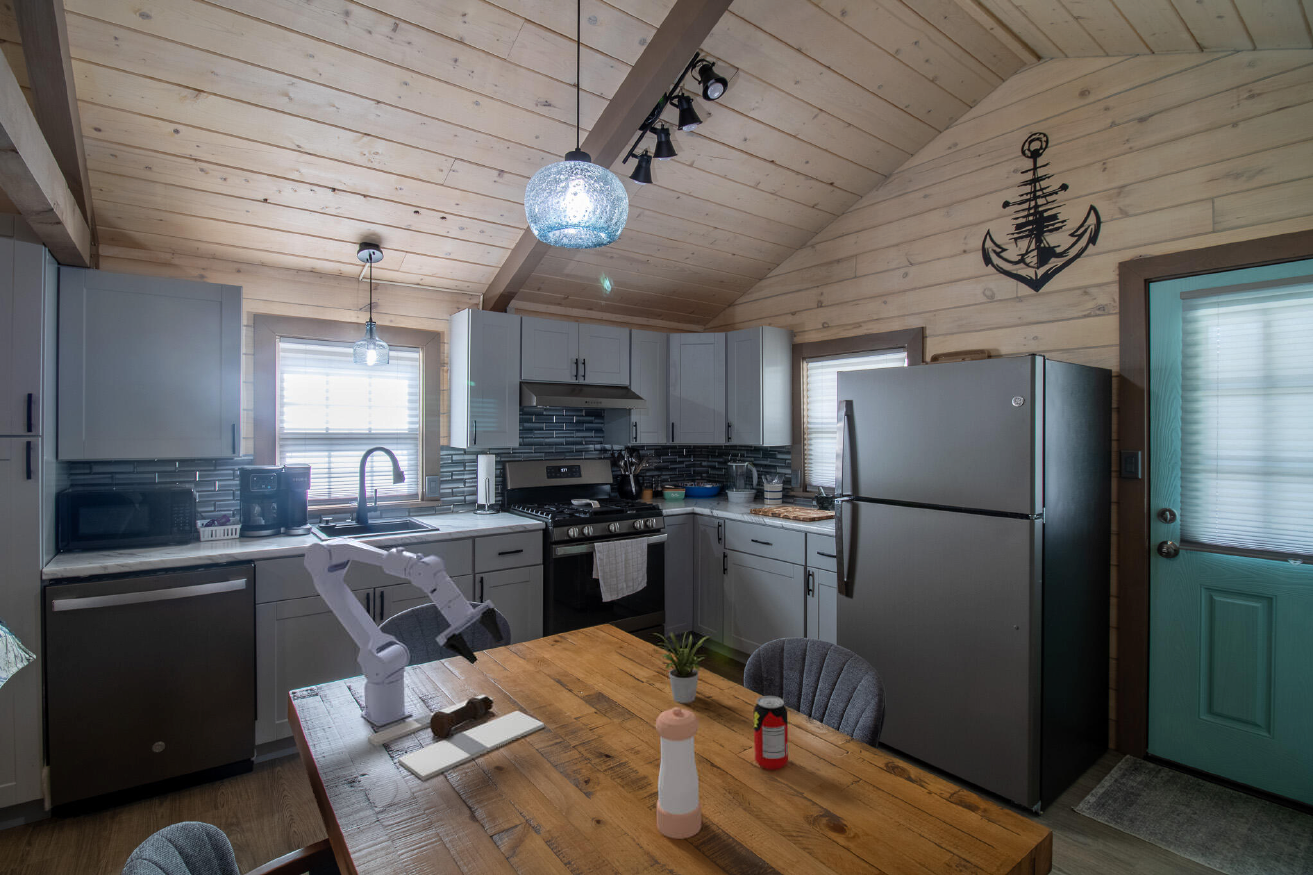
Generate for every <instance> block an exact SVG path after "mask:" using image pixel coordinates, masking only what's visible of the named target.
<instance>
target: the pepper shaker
mask: <svg viewBox="0 0 1313 875" xmlns="http://www.w3.org/2000/svg"><path fill="white" fill-rule="evenodd" d="M699 726H700V725H699V721H698V718H697V716H696V715H695V714H694V712H692V711H690V710H688V709H684V708H681V707H678V706H675V707H673V708H670V709H667V710H665V711H662V712H661V713H659V715H658V717H657V718H656V720H655V730H656V732H657V733H658V735H659V736H660V764H659V773H658V782H657V788H658V789H657V790H658V791H657V792H658V794H657V795H658V800H657V801H656V827H657V830H658V832H659V833H661V834H662V835H664V836H665V837H667V838H672V839H682V840H683V839H687V838H691V837H693V836H695V835H696V834H698V833H699V832H700V830H701V828H702V802H701V800H700V799H699V775H698V770H697V765H696V760H695V736H696V734H697V733H698V731H699Z"/></svg>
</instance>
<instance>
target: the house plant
mask: <svg viewBox="0 0 1313 875" xmlns="http://www.w3.org/2000/svg"><path fill="white" fill-rule="evenodd" d="M687 631H688V630H685V633H684V636H683V640H682V647H680V645H679V643H678V641H677V638H676V635H674V634H673V632H670V633H669V636H670V637H671V638H670V639H671V640H672V643H673V644H674V647H675V649H676V651H675V650H674V648H673V647H672V646H671V644H670V643H669V641H668V640H667V639H666V638H665V636H663V635H661V634H658V633H652V634H654V635H656V636H659V637H661V638H662V639H663V640H664V641H665V643H664V645H665V646H667V648H669V649H670V651H671V652H672V653H673V656H674V657H675V659H674V657H673V656H672V654H671V653H670V651H669V650H668V649H667V648H665V647H664V646H657V648H663V649H664V650H665V651H666V652H667V653H663V655H662V656H661V657H662V658H664V659H665V660H668V661H670V662H666V661H664V660H661V661H658V662H659V663H660V662H661V663H663V662H664V663H666V666H665V670H668V669H670V667H671V668H672V669H671V670H669V671H668V676H669V681H670V686H671V692H672V697H673V701H674V702H676V703H680V704H688V703H693V702H694V701H695V700H696V693H697V687H698V679H699V670H700V665H699V663H698V662H700V661H701V660H703V659H704V657H707V655H706V654H705V655H704V654H696V655H694V654H695V653H696V651H697V649H699V647H700V646H702V645H703V644H702V643H703V642H704V641H705V640H706V639H707V638H709V637H710V635H708V636H705V637H703V638H702V639H700V640H699V641H698V642H697V643H696V645H695V646H694V647H693V649H692V650H691V646H692V643H693V642H692V639H693V638H692V635H690V636H689V639H687V640H686V641H685V637H686V634H687ZM687 643H688V644H687ZM686 644H687V648H685V647H686ZM658 645H663V643H662V642H660V643H658ZM690 650H691V651H690Z"/></svg>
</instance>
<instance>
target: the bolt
mask: <svg viewBox="0 0 1313 875" xmlns="http://www.w3.org/2000/svg"><path fill="white" fill-rule="evenodd" d="M490 698H491V697H490ZM490 698H489V696H488V697H487V695H486V696H485V697H483V698H480V699H479V698H475V697H471V698H469V699H467V700H468V701H467V700H466V701H467V703H466V705H465V706H463V707H461V708H458V709H457V710H454V711H452V712H450V713H445V712H442V711H439V710H438V711H437V710H436V711H434V712H435V713H434V712H433V713H434V714H433V716H432V718H431V720H430V726H429V728H430V731H431V733H432V735H433V736H434V737H435V736H437V737H436V738H438V737H439V738H438V739H447V738H449V737H450V735H451V732H452V730H453V729H454V728H455V727H458V726H460V725H461V724H463V723H466V722H467V721H470V720H472V719H473V721H478V720H480V719H482V718H483V716H484V714H485V713H486V712H488V711H490V710H492V708H493V707H494V705H493V703H494V701H493V700H491V699H490Z"/></svg>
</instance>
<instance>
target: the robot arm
mask: <svg viewBox="0 0 1313 875" xmlns="http://www.w3.org/2000/svg"><path fill="white" fill-rule="evenodd" d="M405 549H406V548H405V547H401V546H400V547H397V548H391V549H390V550H389V551H386V550H383V549H381V548H378V547H376V546H375V547H374V546H372V545H369V544H367V543H364V542H361V541H358V540H356V539H355V538H352V537H350V538H349V537H346V536H338V537H336V538H333V539H329V540H325V541H324V540H323V541H320V542H314V543H311V544H310V545H309V546H308V547H307V548H306V550H305V553H304V559H303V565H304V567H305V569H306V570H307V571H308V572H309V574H310V575H311V577H312V581H313V584H314V587H315V589H316V591H317V593H318V594H319V595H320V597H321V598H322V599H323V600H324V602H325V603H326V604H327V606H328V607H329V609H330V610H331V612H333V614H334V615H335V617H336V618H337V619H338V621H339V622H340V623H341V625H342V626H343V627H344V628H345V630H346V631H347V633H348V634H349V635H350V636H351V639H352V640H354V642H355V644H356V645H357V646H358V647H359V649H360V650H359V653H358V656H357V662H358V663H359V665H360V667H361V672H362V674H363V676H364V678H365V679H366V681H365V683H364V711H363V712H361V713H360V716H362V717H363V718H365V719H366V720H368V721H369V722H371V723H372V724H374V725H375V726H377V727H381V726H385V725H387V724H391V723H394V722H395V721H399V720H401V719H404V718H407V717H410V716H412V715H413V712H412V711H411V710H408V709H407V708H405V707H406V706H405V705H406V703H405V675H404V674H405V672H406V667H407V666H408V664H409V663H410V658H411V654H410V651H409V648H408V646H406V645H405V644H404V643H402V642H400V641H398V640H397V639H396V637H395V636H394V635H391V634H387V633H385V632H383V631H381V629H380V628H379V626H378V625H377V624H376V623H375V621H374V620H373V618H372V617H371V616H370V614H369V613H368V612H367V610H366V609H365V608H364V607H363V605H362V604H361V602H360V601H359V600H358V599H357V597H356V596H355V594H354V593H353V592H352V591H351V589H350V588H349V586H348V585H347V584H346V582H344V577H345V574H346V573H347V571H348V570H349V569H348V568H349V566H350V565H351V562H352V560H353V561H358V562H362V563H366V564H371V565H375V566H381V567H382V569H383V571H384V572H385V573H386V574H389V575H392V576H396V577H399V578H403V579H407V580H408V581H409V580H410V583H411V584H412V585H413V586H415V587H418V588H420V589H421V590H423V592H424V593H426V594H427V595H428V596H429V598H430V600H431V601H432V602H433V603H434V605H435V606H436V607H437V608H438V610H439V611H440V613H441V615H442V616H444V618H445V619H446V621H447V622H448V624H450V627H448V628H447V629H445V630H444V631H443V632H442V633H440V634H438V636H437V637H436V638H435V641H436V642H437V643H438V645H439V646H440V647H441V646H444V648H445V649H446V650H450V651H452V652H454V653H455V654H458V655H459V656H461V657H462V658H463V659H465V660H467V662H469V663H470V664H471V665H473V664H474V663H476V662H477V661H478V658H477V656H476V655H475V653H474V652H473V651H472V650H471V648H470V647H469V645H468V644H467V642H466V640H465V638H464V637H463V634H462V633H461V632H462V631H463V630H465V629H466V628H467V627H469V625H472V624H473V623H474V622H476V621H477V620H478V619H479V618H480V619H479V621H478V623H479V624H480V625H481V626H482V627H483V628H484V629H485V630H487V632H489V634H490V636H491V637H492V638H493V639H494V641H495V642H496V643H497V644H500V643H501V642H502V641H503V640H504V637H503V634H502V632H501V629H500V627H499V625H498V620H497V615H496V614H497V613H496V609H495V608H494V607H495V605H494V604H493V602H492V601H491V599H488V600H486V601H484V603H482V604H480V605H479V606H477V607H475V609H474V608H473V606H472V605H471V603H469V601H468V600H467V598H466V597H465V596H464V594H462V592H461V591H460V590H459V588H458V586H456V583H454V582H453V580H452V579H451V578H450V576H449V575H448V574H447V572H446V570H447V569H446V564H445V562H444V560H443V559H442V558H441V557H439V556H437V555H435V554H431V555H428V556H426V557H425V556H424V554H423V553H414V552H410V551H406V550H405Z"/></svg>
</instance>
